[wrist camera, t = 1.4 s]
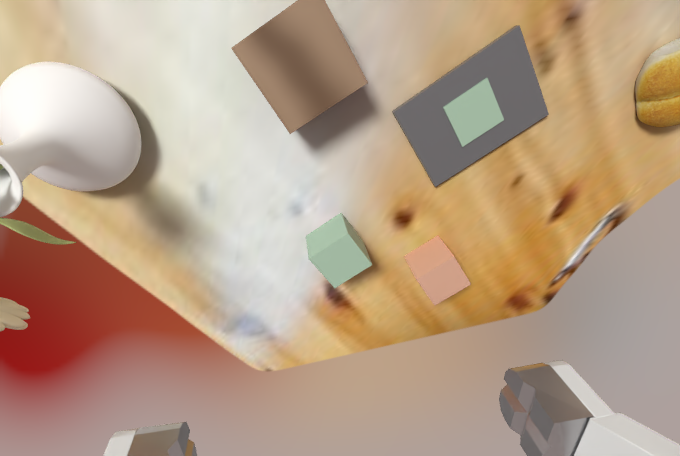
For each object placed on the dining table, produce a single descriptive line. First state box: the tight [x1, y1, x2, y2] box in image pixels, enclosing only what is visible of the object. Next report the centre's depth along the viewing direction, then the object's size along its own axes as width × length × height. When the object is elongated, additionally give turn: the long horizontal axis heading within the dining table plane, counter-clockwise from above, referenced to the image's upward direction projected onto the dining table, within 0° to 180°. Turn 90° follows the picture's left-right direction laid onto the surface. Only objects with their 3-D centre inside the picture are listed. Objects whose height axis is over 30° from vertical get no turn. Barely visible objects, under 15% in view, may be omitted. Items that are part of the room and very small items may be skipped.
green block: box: [306, 213, 372, 288], centre depth 42 cm, size 5×5×5 cm
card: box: [392, 26, 549, 187], centre depth 39 cm, size 14×10×1 cm
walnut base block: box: [232, 0, 368, 134], centre depth 32 cm, size 8×8×5 cm
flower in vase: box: [0, 62, 142, 331], centre depth 24 cm, size 13×11×25 cm
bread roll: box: [635, 38, 680, 127], centre depth 39 cm, size 8×9×4 cm
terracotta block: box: [404, 235, 471, 305], centre depth 45 cm, size 5×5×5 cm
